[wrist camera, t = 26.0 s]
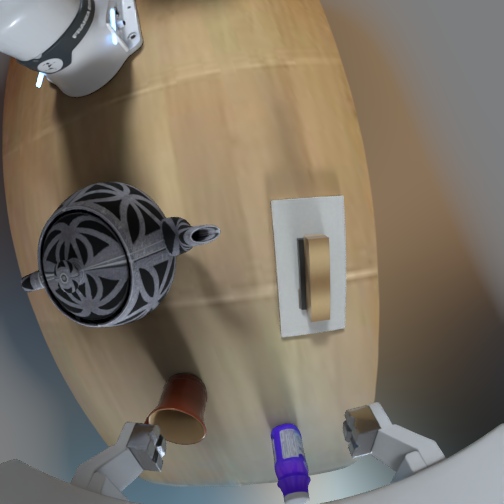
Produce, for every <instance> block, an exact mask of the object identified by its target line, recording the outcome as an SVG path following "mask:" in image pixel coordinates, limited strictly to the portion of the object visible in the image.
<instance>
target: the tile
mask: <svg viewBox="0 0 504 504" xmlns="http://www.w3.org/2000/svg"><path fill="white" fill-rule="evenodd" d="M270 203H271V214H272V225H273V237H274V249H275V261H276V274H277V287H278V301H279V316H280V331H281V337H289V336H297V335H304V334H311V333H318V332H325V331H331V330H337V329H343V328H345V310H346V238H345V214H344V198H343V195H338V196H322V197H307V198H293V199H281V200H271V201H270ZM312 234H324V235H326V236H327V237H329V249H330V320H324V321H317V322H311V320H310V318H309V316H308V314H307V310H301V308H300V291H299V270H298V252H297V238H303V235H312Z"/></svg>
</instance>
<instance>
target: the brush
mask: <svg viewBox="0 0 504 504" xmlns="http://www.w3.org/2000/svg"><path fill="white" fill-rule="evenodd" d="M297 252H298V270H299V291H300V308H301V310H307V314H308V316H309V318H310V320H311V322H317V321H324V320H330V249H329V237H327V236H326V235H324V234H312V235H303V238H297Z"/></svg>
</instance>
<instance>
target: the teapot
mask: <svg viewBox="0 0 504 504" xmlns="http://www.w3.org/2000/svg"><path fill="white" fill-rule="evenodd" d="M219 235H220V229H219V228H218V227H217V226H214V225H201V226H195V227H192V226H190V224H189V223H188V222H187V221H186V220H185V219H182V218H179V217H171V218H166V217H165V216H164V214H163V212H162V211H161V209H160V208H159V207H158V205H157V204H156V203H155V202H154V201H153V200H152V199H151V198H150V197H149V196H148V195H146V194H145V193H144V192H142V191H140V190H139V189H137V188H135V187H133V186H131V185H128V184H125V183H120V182H100V183H96V184H92V185H89V186H87V187H84V188H82V189H81V190H79V191H77V192H75V193H74V194H73V195H71V196H70V197H69V198H67V199H66V200H65V201H64V202H63V203H62V204H61V205H60V206H59V207H58V208H57V210H56V211H55V212H54V213H53V214H52V216H51V217H50V218H49V220H48V221H47V223H46V224H45V226H44V228H43V230H42V233H41V235H40V239H39V244H38V267H39V270H38V271H36V272H34V273H31V274H29V275H27V276H25V277H23V278H22V280H21V284H22V287H23V289H24V290H25V291H26V292H31V291H35V290H38V289H42V288H45V290H46V292H47V294H48V296H49V297H50V299H51V300H52V302H53V303H54V304H55V306H56V307H57V308H58V309H59V310H60V311H61V312H62V313H63V314H64V315H66V316H67V317H68V318H70V319H71V320H73V321H75V322H77V323H79V324H82V325H85V326H89V327H110V326H119V325H124V324H128V323H131V322H134V321H136V320H138V319H140V318H142V317H144V316H146V315H147V314H149V313H150V312H151V311H153V310H154V309H155V308H156V307H157V306H158V305H159V304H160V303H161V301H162V300H163V299H164V297H165V296H166V295H167V293H168V291H169V289H170V287H171V284H172V282H173V278H174V274H175V267H176V255H179V254H182V253H185V252H187V251H189V250H190V249H191V248H192V247H193V246H197V245H202V244H206V243H209V242H211V241H213V240H215V239H216V238H217V237H218V236H219Z"/></svg>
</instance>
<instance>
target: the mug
mask: <svg viewBox="0 0 504 504" xmlns="http://www.w3.org/2000/svg"><path fill="white" fill-rule="evenodd" d="M206 402H207V391H206V387H205V385H204V383H203V382H202V381H201V380H200V379H198V378H197V377H195V376H193V375H190V374H176V375H174V376H172V377H171V378H170V379H169V380H168V382H167V383H166V384H165V386H164V388H163V392H162V395H161V398H160V401H159V404H158V406H157V407H156V408H155V409H154V410H153V411H152V412H151V413H150V414H149V416H148V417H147V419H146V421H145V423H144V424H151V425H158V426H159V428H160V429H161V431H160V434H161V435H163V436H164V438H165V440H166V441H169V442H172V443H176V444H182V445H189V444H195V443H198V442H200V441H201V440H203V439H204V437H205V435H206V427H205V423H204V418H203V417H204V412H205V407H206Z"/></svg>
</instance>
